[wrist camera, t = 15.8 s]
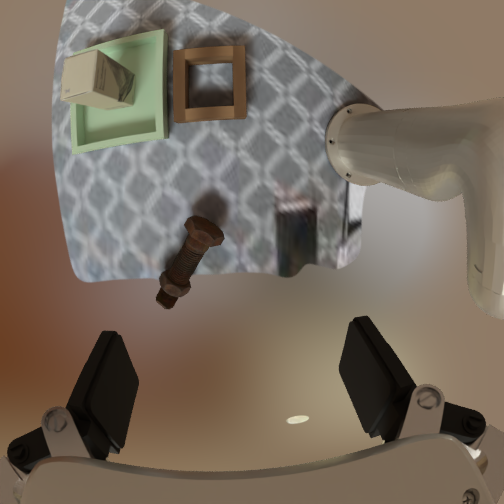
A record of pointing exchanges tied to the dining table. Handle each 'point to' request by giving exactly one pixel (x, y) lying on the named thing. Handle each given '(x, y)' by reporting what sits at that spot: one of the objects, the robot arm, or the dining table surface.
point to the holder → (200, 57)
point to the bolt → (188, 260)
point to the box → (97, 81)
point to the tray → (145, 97)
